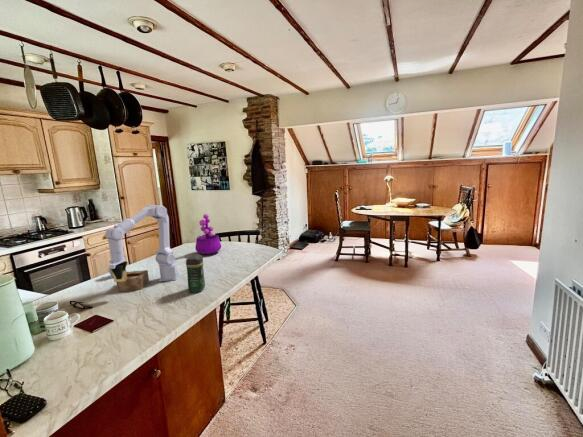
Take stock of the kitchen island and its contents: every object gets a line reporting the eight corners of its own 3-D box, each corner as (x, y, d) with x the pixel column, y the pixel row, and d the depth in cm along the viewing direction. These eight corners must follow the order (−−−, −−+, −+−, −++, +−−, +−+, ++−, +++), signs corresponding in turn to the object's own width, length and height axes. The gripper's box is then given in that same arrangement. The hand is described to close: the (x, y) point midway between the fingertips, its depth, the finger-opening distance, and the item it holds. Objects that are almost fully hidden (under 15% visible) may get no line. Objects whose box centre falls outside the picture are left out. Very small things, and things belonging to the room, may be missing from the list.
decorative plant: (207, 258, 207) (204, 216, 201) (190, 254, 217) (186, 215, 211) (226, 251, 222) (223, 212, 217) (210, 248, 232) (207, 211, 227)
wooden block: (127, 278, 147) (126, 269, 146) (125, 281, 144) (123, 271, 143) (116, 279, 146) (115, 270, 146) (114, 282, 144) (112, 272, 143)
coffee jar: (202, 292, 149) (199, 258, 146) (186, 293, 149) (183, 259, 145) (206, 285, 159) (204, 252, 155) (192, 286, 158) (189, 253, 155)
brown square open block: (148, 280, 168) (147, 270, 167) (141, 289, 156) (140, 277, 155) (126, 282, 166) (125, 271, 165) (117, 291, 154) (116, 279, 153)
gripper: (114, 248, 149) (118, 273, 152) (100, 256, 135) (105, 284, 137) (129, 247, 150) (132, 272, 153) (117, 255, 136) (121, 282, 139)
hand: (120, 277), depth 145 cm, fingers closed on wooden block, 3 cm apart
